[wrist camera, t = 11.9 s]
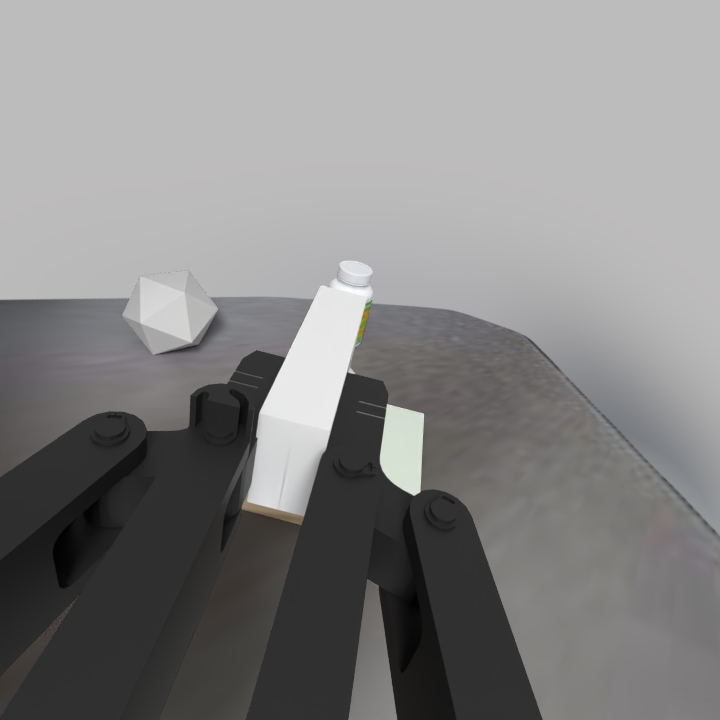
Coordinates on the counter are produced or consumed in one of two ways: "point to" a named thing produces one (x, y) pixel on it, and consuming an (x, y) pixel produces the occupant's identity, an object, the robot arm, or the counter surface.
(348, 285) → the supplement bottle
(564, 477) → the counter surface
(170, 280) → the die
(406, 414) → the mat
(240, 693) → the counter surface
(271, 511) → the stop strip
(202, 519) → the robot arm
